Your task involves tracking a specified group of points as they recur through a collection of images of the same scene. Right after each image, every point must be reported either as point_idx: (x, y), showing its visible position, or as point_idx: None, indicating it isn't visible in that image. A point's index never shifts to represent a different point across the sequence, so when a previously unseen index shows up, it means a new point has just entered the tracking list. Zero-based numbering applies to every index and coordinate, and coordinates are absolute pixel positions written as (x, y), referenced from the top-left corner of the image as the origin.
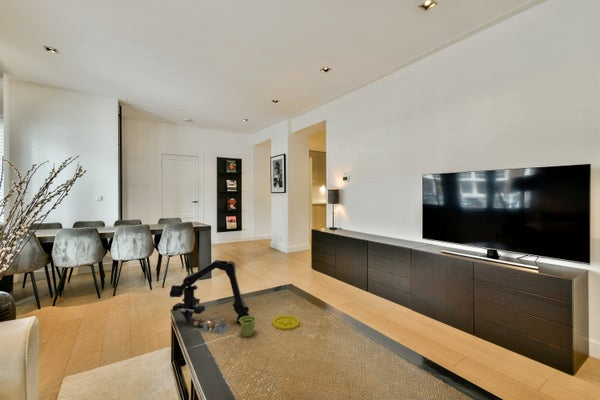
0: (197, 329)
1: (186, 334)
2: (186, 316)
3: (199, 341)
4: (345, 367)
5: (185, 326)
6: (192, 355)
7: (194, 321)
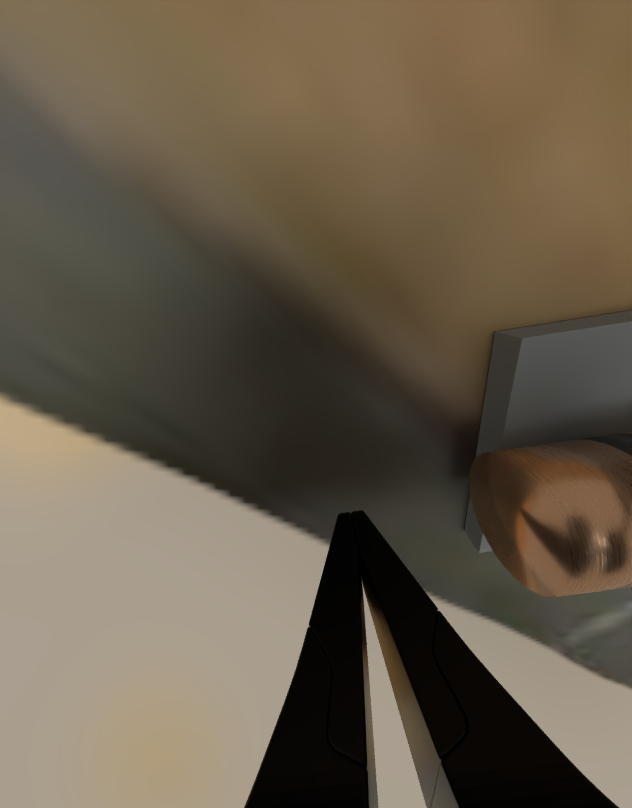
0: None
1: (437, 571)
2: (371, 733)
3: (611, 591)
4: None
5: (302, 481)
6: (610, 668)
7: (537, 586)
